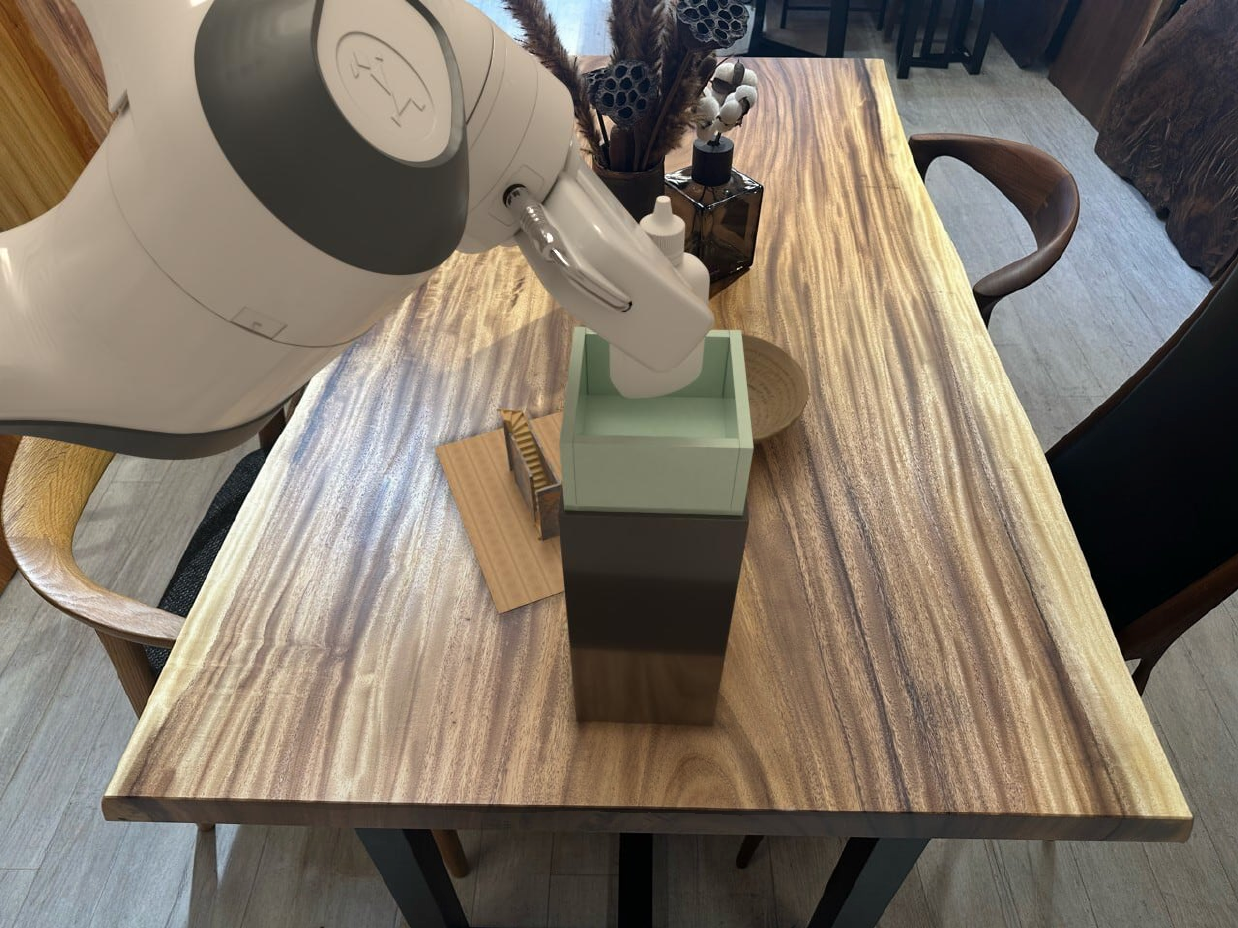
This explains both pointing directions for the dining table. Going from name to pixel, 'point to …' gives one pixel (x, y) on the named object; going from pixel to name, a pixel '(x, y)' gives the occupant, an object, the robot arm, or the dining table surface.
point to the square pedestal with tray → (652, 534)
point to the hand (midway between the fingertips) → (668, 286)
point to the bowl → (772, 388)
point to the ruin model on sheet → (532, 470)
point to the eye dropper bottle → (670, 241)
